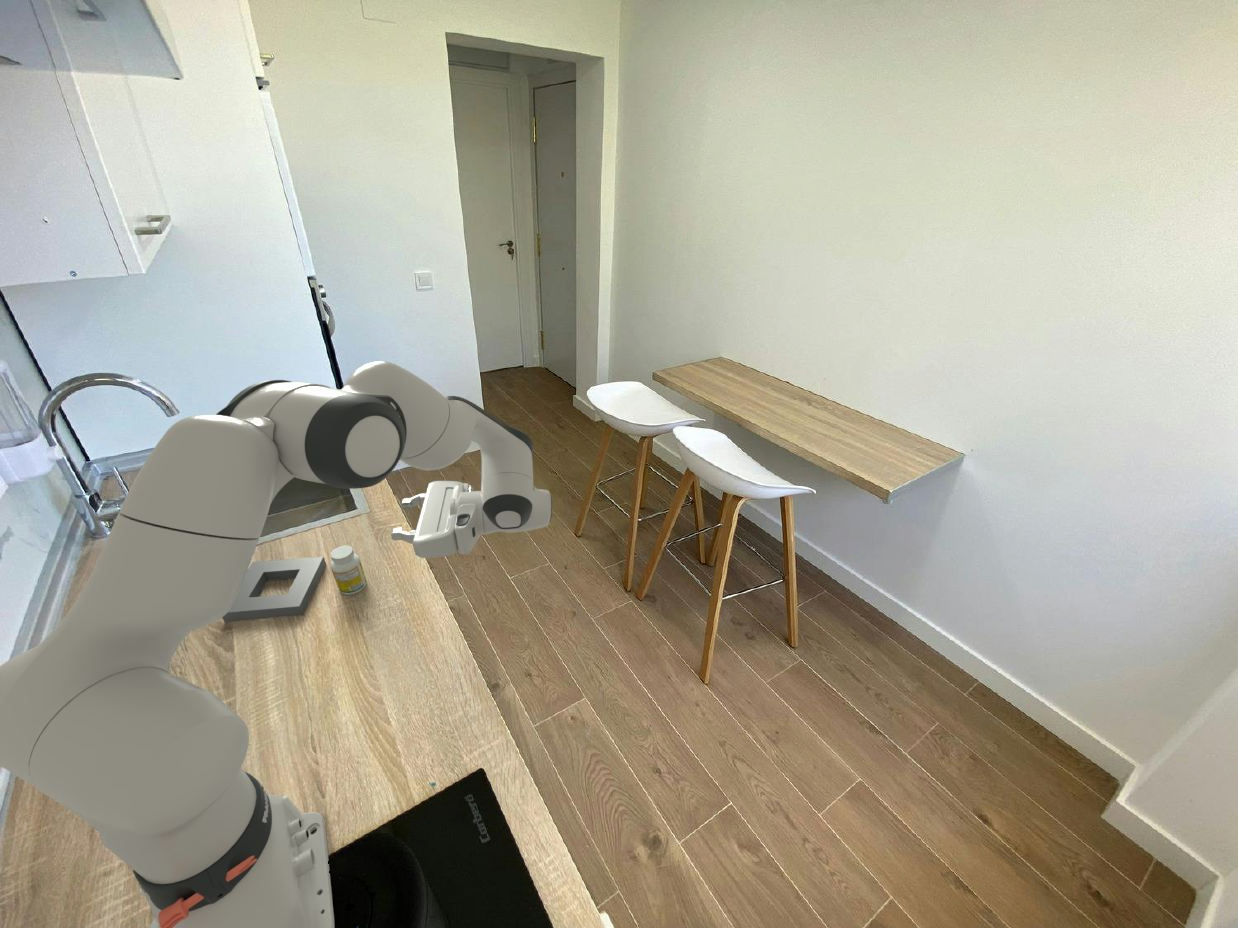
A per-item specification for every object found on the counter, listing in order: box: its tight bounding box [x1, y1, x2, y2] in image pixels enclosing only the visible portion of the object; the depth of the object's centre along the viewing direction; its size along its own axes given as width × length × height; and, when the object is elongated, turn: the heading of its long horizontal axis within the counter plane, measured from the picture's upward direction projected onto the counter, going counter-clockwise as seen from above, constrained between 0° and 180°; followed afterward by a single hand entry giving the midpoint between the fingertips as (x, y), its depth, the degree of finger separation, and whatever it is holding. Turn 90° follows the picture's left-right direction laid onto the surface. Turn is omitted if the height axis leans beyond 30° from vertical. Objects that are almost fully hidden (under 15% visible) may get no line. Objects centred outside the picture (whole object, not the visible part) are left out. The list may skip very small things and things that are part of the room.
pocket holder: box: [221, 556, 327, 623], centre depth 103 cm, size 14×14×2 cm
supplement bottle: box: [330, 545, 367, 596], centre depth 103 cm, size 5×5×10 cm
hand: (397, 518), depth 98 cm, fingers open, 8 cm apart
